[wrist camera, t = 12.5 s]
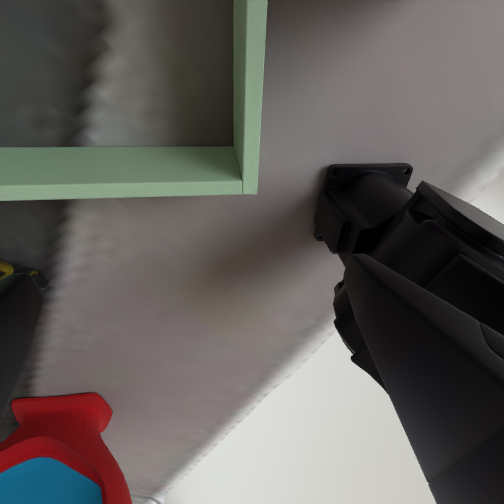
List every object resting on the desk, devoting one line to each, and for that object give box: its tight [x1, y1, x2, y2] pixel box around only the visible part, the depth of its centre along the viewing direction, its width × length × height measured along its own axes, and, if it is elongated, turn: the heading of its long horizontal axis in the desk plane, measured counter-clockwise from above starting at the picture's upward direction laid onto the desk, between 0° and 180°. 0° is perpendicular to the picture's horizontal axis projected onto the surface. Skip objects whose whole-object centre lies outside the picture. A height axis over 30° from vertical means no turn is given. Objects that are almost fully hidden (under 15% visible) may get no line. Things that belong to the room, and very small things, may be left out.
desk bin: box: [0, 0, 268, 201], centre depth 12 cm, size 18×15×6 cm
